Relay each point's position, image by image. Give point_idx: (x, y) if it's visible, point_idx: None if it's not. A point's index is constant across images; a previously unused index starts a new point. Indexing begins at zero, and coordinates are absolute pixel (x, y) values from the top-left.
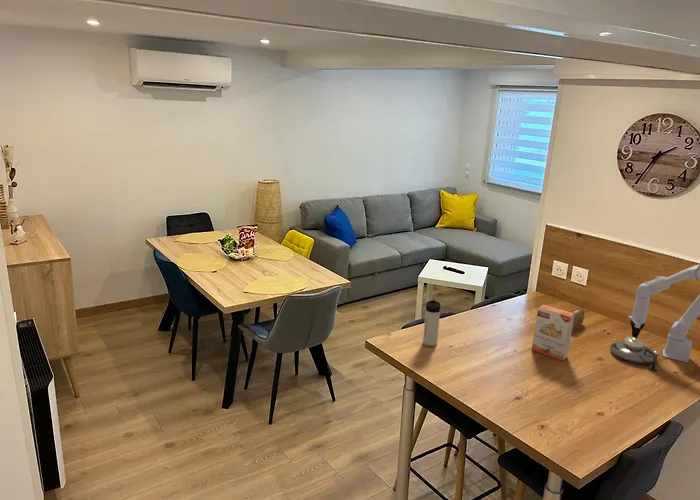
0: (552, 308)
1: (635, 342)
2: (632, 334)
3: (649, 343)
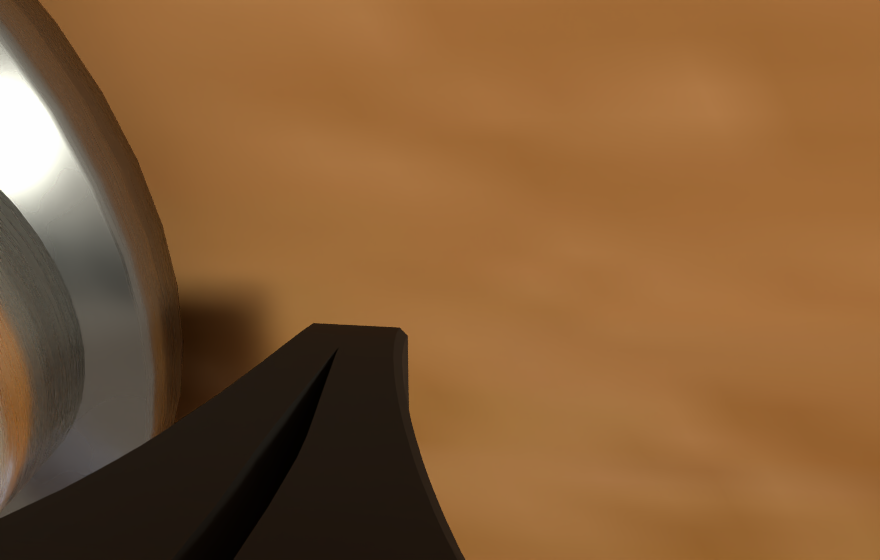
0: None
1: None
2: (275, 360)
3: (639, 544)
